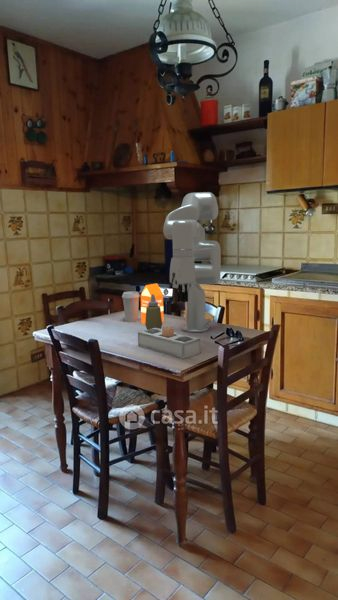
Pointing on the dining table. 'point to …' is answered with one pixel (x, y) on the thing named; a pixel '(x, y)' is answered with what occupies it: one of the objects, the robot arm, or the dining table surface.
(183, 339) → the knob
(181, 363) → the dining table surface
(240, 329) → the dining table surface
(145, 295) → the orange juice
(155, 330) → the knob
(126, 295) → the coffee cup
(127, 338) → the dining table surface
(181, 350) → the grey rectangular box
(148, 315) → the squeeze bottle
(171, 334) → the middle knob
